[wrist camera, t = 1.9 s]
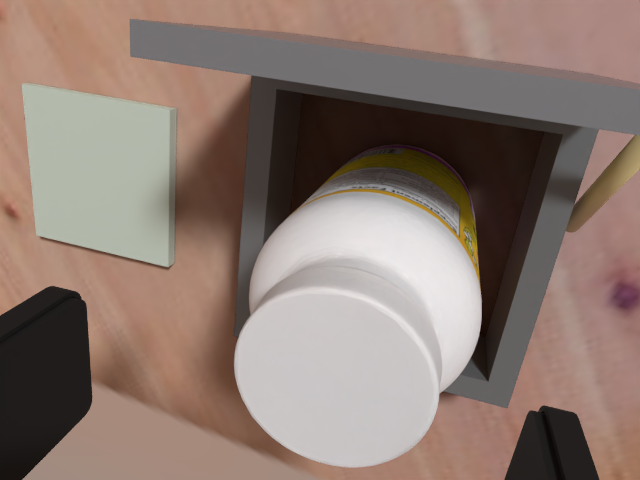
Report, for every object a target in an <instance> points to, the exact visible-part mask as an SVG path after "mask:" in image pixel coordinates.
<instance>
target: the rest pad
mask: <svg viewBox="0 0 640 480" xmlns="http://www.w3.org/2000/svg"><path fill="white" fill-rule="evenodd" d="M22 91H23V101H24V112H25V122H26V133H27V143H28V154H29V164H30V175H31V185H32V196H33V206H34V217H35V227H36V235H37V236H41V237H45V238H49V239H53V240H57V241H62V242H66V243H70V244H74V245H78V246H82V247H86V248H90V249H95V250H99V251H103V252H107V253H111V254H115V255H119V256H124V257H128V258H132V259H136V260H140V261H144V262H148V263H152V264H157V265H161V266H165V267H169V266H171V265H172V264H174V251H175V186H176V121H177V108H171V107H165V106H160V105H154V104H148V103H142V102H137V101H131V100H125V99H119V98H114V97H108V96H102V95H96V94H91V93H85V92H79V91H73V90H68V89H62V88H56V87H50V86H45V85H39V84H33V83H27V84H22Z"/></svg>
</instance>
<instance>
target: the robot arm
mask: <svg viewBox="0 0 640 480" xmlns="http://www.w3.org/2000/svg"><path fill="white" fill-rule="evenodd" d="M91 403H92V387H91V370H90V354H89V338H88V321H87V307H86V303H85V301H83V300H82V299H81V296H80V294H79V293H77V292H76V291H72V290H68V289H63V288H59V287H55V286H50V287H47V288H45V289H44V290H42V291H40V292H39V293H37V294H35V295H34V296H32V297H31V298H29V299H27V300H26V301H24V302H22V303H21V304H19V305H17V306H16V307H14V308H12V309H11V310H9V311H7V312H6V313H4V314H2V315H1V316H0V480H22V479H23V478H24V477H25V476H26V475H27V474H28V473H29V472H30V471H31V470H32V469H33V468H34V467H35V466H36V465H37V464H38V463H39V462H40V461H41V460H42V459H43V458H44V457H45V456H46V455H47V454H48V453H49V452H50V451H51V449H53V448H54V447H55V445H57V444H58V443H59V442H60V441H61V440H62V439H63V438H64V436H66V434H67V433H68V432H69V431H70V430H71V429H72V428H73V427H74V426H75V425H76V424H77V423H78V422H79V421H80V420H81V419H82V418H83V417H84V416H85V415H86V414H87V412H88V411H89V409H90V406H91ZM505 480H599V477H598V474H597V471H596V468H595V465H594V462H593V459H592V456H591V454H590V451H589V448H588V445H587V442H586V439H585V436H584V433H583V430H582V427H581V424H580V421H579V418H578V416H577V414H575V413H573V412H569V411H565V410H561V409H557V408H553V407H548V406H542V407H541V408H540V409H539V411H538V412H536V411H532V410H531V411H529V413H528V414H527V417H526V420H525V422H524V425H523V428H522V431H521V434H520V437H519V440H518V442H517V445H516V448H515V451H514V454H513V457H512V460H511V463H510V465H509V468H508V471H507V474H506V477H505Z"/></svg>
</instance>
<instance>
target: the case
mask: <svg viewBox="0 0 640 480" xmlns="http://www.w3.org/2000/svg"><path fill="white" fill-rule="evenodd" d="M130 55H131V57H137V58H143V59H150V60H156V61H163V62H169V63H175V64H182V65H188V66H195V67H201V68H208V69H214V70H221V71H227V72H234V73H240V74H246V75H252V79H251V93H250V108H249V123H248V137H247V152H246V166H245V181H244V196H243V210H242V225H241V240H240V254H239V269H238V284H237V298H236V313H235V328H234V336H235V337H239V334H240V332H241V330H242V328H243V326H244V324H245V322H246V321H247V319H248V318H249V317H250V315H251V314H250V307H249V290H250V281H251V276H252V272H253V268H254V265H255V262H256V260H257V257H258V255H259V253H260V251H261V250H262V248H263V246H264V244H265V243H266V241H267V240H268V238H269V237H270V236H271V234H272V233H273V232H274V231H275V230H276V229H277V227H278V226H279V225H280V224H282V223H283V222H284V221H285V220H286V219H287V218H288V217H289V216H290V209H291V200H292V190H293V181H294V171H295V162H296V152H297V143H298V134H299V124H300V115H301V105H302V96H303V93H305V94H312V95H318V96H324V97H330V98H337V99H343V100H349V101H356V102H362V103H368V104H374V105H381V106H387V107H393V108H400V109H406V110H412V111H418V112H425V113H431V114H437V115H444V116H450V117H456V118H463V119H469V120H475V121H481V122H488V123H494V124H500V125H507V126H513V127H519V128H525V129H532V130H538V131H544V135H543V139H542V142H541V146H540V149H539V153H538V156H537V160H536V163H535V167H534V170H533V174H532V177H531V181H530V184H529V188H528V191H527V194H526V198H525V201H524V205H523V208H522V212H521V215H520V219H519V222H518V226H517V229H516V233H515V236H514V240H513V243H512V247H511V250H510V254H509V257H508V260H507V264H506V267H505V271H504V274H503V278H502V281H501V285H500V288H499V292H498V295H497V299H496V302H495V306H494V309H493V313H492V316H491V320H490V323H489V327H488V330H487V333H486V337H481V336H479V338H478V341H477V344H476V347H475V350H474V352H473V354H472V356H471V358H470V360H469V362H468V364H467V365H466V367H465V368H464V370H463V371H462V372H461V374H460V375H459V376H458V377H457V378H456V380H455V381H454V382H453V383H452V384H451V385H450V386H448V387H447V388H446V389H445V390H444V392H447V393H451V394H455V395H459V396H463V397H466V398H470V399H474V400H478V401H481V402H485V403H489V404H493V405H497V406H500V407H504V408H508V405H509V402H510V399H511V396H512V393H513V390H514V387H515V384H516V381H517V378H518V375H519V371H520V368H521V365H522V362H523V359H524V356H525V353H526V350H527V347H528V344H529V341H530V338H531V335H532V332H533V329H534V326H535V323H536V320H537V316H538V313H539V310H540V307H541V304H542V301H543V298H544V295H545V292H546V289H547V286H548V283H549V280H550V277H551V274H552V271H553V268H554V265H555V261H556V258H557V255H558V252H559V249H560V246H561V243H562V240H563V237H564V234H565V231H567V232H575V231H577V230H578V229H579V228H580V227H581V226H582V225H583V224H584V223H585V222H586V221H588V220H589V219H590V218H591V217H592V216H593V215H594V214H595V213H596V212H597V211H598V210H599V209H600V208H601V207H602V206H603V205H604V204H605V203H606V202H607V201H608V200H609V199H610V198H611V197H612V196H613V195H614V194H615V193H616V192H617V191H618V190H619V189H620V188H621V187H622V186H623V185H624V184H625V183H626V182H627V181H628V180H629V179H630V178H631V177H632V176H633V175H634V174H635V173H636V172H637V171H638V170H639V169H640V84H637V83H632V82H628V81H623V80H618V79H613V78H608V77H603V76H598V75H593V74H588V73H580V72H573V71H565V70H558V69H551V68H543V67H536V66H528V65H521V64H514V63H506V62H499V61H492V60H484V59H477V58H469V57H462V56H455V55H447V54H440V53H433V52H425V51H418V50H410V49H403V48H396V47H388V46H381V45H374V44H366V43H359V42H351V41H344V40H337V39H329V38H322V37H314V36H307V35H300V34H292V33H284V32H273V31H262V30H250V29H239V28H227V27H216V26H205V25H193V24H182V23H170V22H159V21H148V20H136V19H130ZM599 129H601V130H608V131H614V132H621V133H627V134H634V135H635V136H634V137H633V138H632V139H631V141H630V142H629V143H628V144H627V145H626V146H625V147H624V149H623V150H622V151H621V152H620V153H619V154H618V155H617V157H616V158H615V159H614V160H613V161H612V162H611V163H610V165H609V166H608V167H607V168H606V169H605V170H604V171H603V173H602V174H601V175H600V176H599V177H598V178H597V179H596V181H595V182H594V183H593V184H592V185H591V186H590V187H589V189H588V190H587V191H586V192H585V193H584V194H583V196H582V197H581V198H580V199H579V200H578V201H577V202H576V204H575V205H574V203H575V200H576V197H577V194H578V191H579V188H580V185H581V182H582V179H583V176H584V173H585V170H586V167H587V164H588V161H589V158H590V155H591V152H592V148H593V145H594V142H595V139H596V136H597V133H598V130H599Z"/></svg>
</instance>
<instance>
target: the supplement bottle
mask: <svg viewBox="0 0 640 480" xmlns="http://www.w3.org/2000/svg"><path fill="white" fill-rule="evenodd" d="M249 307H250V314H251V315H250V317H249V318H248V319H247V321H246V322H245V324H244V326H243V328H242V330H241V332H240V334H239V337H238V341H237V344H236V348H235V353H234V371H235V378H236V382H237V386H238V389H239V392H240V395H241V397H242V400H243V401H244V403H245V405H246V407H247V409H248V411H249V412H250V414H251V416H252V417H253V418H254V419H255V421H256V422H257V423H258V424H259V425H260V426H261V428H262V429H263V430H264V431H266V432H267V433H268V434H269V435H270V436H271V437H272V438H273V439H275V440H276V441H277V442H279V443H280V444H281V445H283V446H284V447H286V448H288V449H289V450H291V451H293V452H295V453H297V454H299V455H301V456H303V457H306V458H308V459H311V460H314V461H317V462H320V463H324V464H329V465H333V466H340V467H367V466H374V465H378V464H382V463H385V462H388V461H390V460H393V459H395V458H397V457H399V456H401V455H402V454H404V453H406V452H408V451H409V450H410V449H411V448H412V447H414V446H415V445H416V444H417V443H418V442H419V441H420V440H421V439H422V438H423V436H424V435H425V434H426V432H427V431H428V429H429V427H430V426H431V424H432V421H433V419H434V416H435V413H436V410H437V407H438V402H439V394H440V393H441V392H442V391H444V390H445V389H446V388H447V387H448V386H450V385H451V384H452V383H453V382H454V381H455V380H456V378H457V377H458V376H459V375H460V374H461V372H462V371H463V370H464V368H465V367H466V365H467V364H468V362H469V360H470V358H471V356H472V354H473V352H474V350H475V347H476V344H477V341H478V338H479V333H480V328H481V320H482V299H481V289H480V276H479V263H478V248H477V236H476V224H475V213H474V208H473V203H472V199H471V196H470V193H469V191H468V189H467V187H466V185H465V183H464V181H463V180H462V178H461V177H460V175H459V174H458V173H457V172H456V171H455V169H454V168H453V167H451V166H450V165H449V164H448V163H447V162H446V161H444V160H443V159H442V158H440V157H439V156H437V155H435V154H433V153H431V152H429V151H426V150H424V149H421V148H418V147H414V146H408V145H396V144H395V145H384V146H379V147H376V148H372V149H369V150H366V151H364V152H362V153H360V154H358V155H357V156H355V157H353V158H352V159H351V160H349V161H348V162H347V163H345V164H344V165H343V166H342V167H341V168H340V169H338V170H337V171H336V172H335V173H334V174H333V175H332V176H331V177H330V178H329V179H328V180H327V181H326V182H325V183H324V184H323V185H322V186H321V187H320V188H319V189H318V190H317V191H316V192H315V193H314V194H313V195H312V196H310V197H309V198H308V199H307V200H306V201H305V202H304V203H303V204H302V205H301V206H300V207H299V208H298V209H296V210H295V211H294V212H293V213H292V214H291V215H290V216H289V217H288V218H287V219H286V220H285V221H284V222H283V223H282V224H280V225H279V226H278V227H277V229H276V230H275V231H274V232H273V233H272V234H271V236H270V237H269V238H268V240H267V241H266V243H265V244H264V246H263V248H262V250H261V251H260V253H259V255H258V257H257V260H256V262H255V265H254V268H253V272H252V276H251V281H250V290H249Z"/></svg>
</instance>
